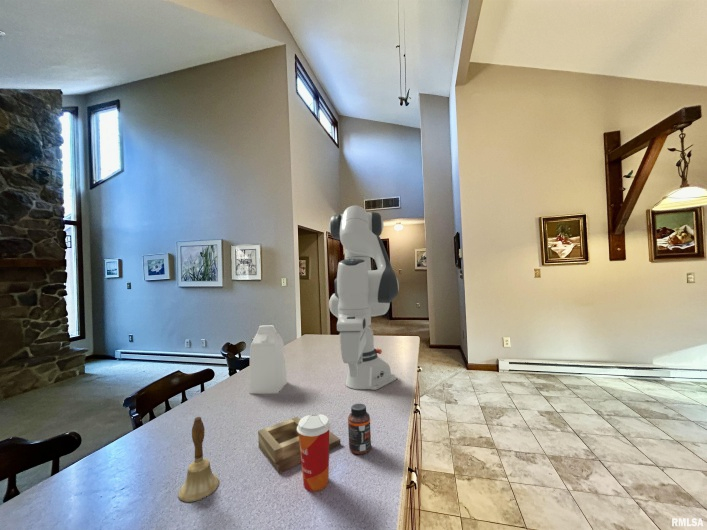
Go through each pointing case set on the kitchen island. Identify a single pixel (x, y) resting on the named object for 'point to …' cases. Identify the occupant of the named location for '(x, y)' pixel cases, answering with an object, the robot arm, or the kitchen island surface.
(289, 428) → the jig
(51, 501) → the kitchen island surface
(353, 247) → the robot arm
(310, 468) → the paper cup
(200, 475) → the hand bell
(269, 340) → the milk
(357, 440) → the supplement bottle
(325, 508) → the kitchen island surface
